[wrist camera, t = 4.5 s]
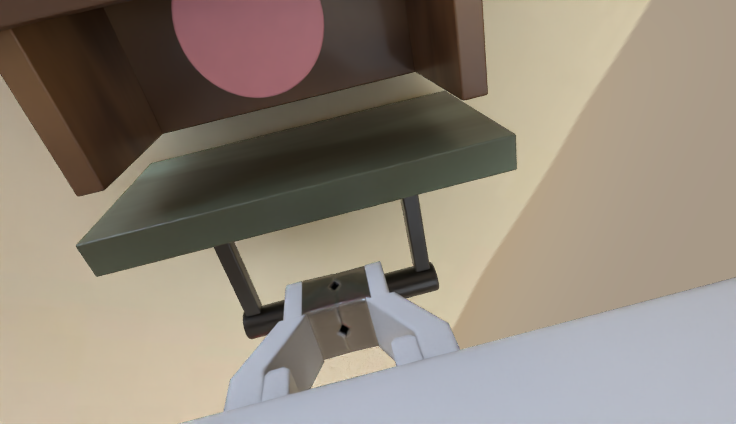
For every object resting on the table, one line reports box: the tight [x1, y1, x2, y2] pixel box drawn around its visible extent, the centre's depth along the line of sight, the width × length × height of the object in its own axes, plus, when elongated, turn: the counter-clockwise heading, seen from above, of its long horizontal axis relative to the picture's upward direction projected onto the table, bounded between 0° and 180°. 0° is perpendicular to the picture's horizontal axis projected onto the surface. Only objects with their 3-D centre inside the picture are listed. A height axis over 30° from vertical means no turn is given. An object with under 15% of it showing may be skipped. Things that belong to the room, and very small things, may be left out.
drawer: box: [0, 0, 517, 339], centre depth 13 cm, size 20×13×7 cm, turn 12°
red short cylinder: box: [171, 0, 324, 98], centre depth 13 cm, size 4×4×5 cm
